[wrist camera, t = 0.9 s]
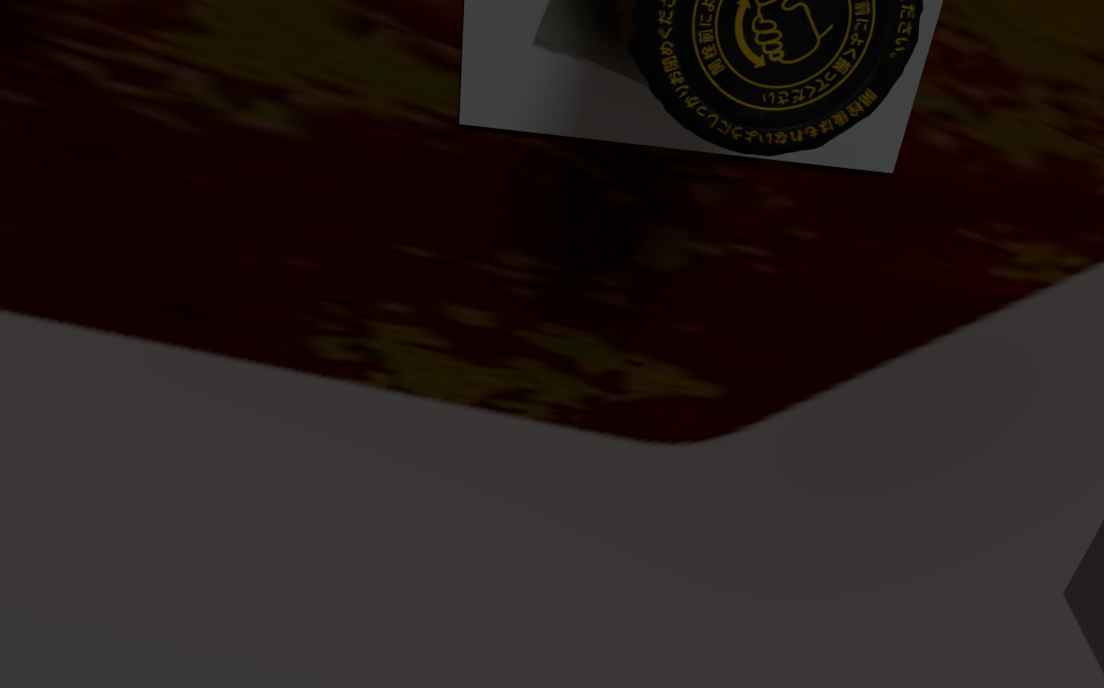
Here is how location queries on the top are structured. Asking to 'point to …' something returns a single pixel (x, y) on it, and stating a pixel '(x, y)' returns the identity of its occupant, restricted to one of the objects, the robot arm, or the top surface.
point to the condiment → (748, 61)
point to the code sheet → (633, 93)
